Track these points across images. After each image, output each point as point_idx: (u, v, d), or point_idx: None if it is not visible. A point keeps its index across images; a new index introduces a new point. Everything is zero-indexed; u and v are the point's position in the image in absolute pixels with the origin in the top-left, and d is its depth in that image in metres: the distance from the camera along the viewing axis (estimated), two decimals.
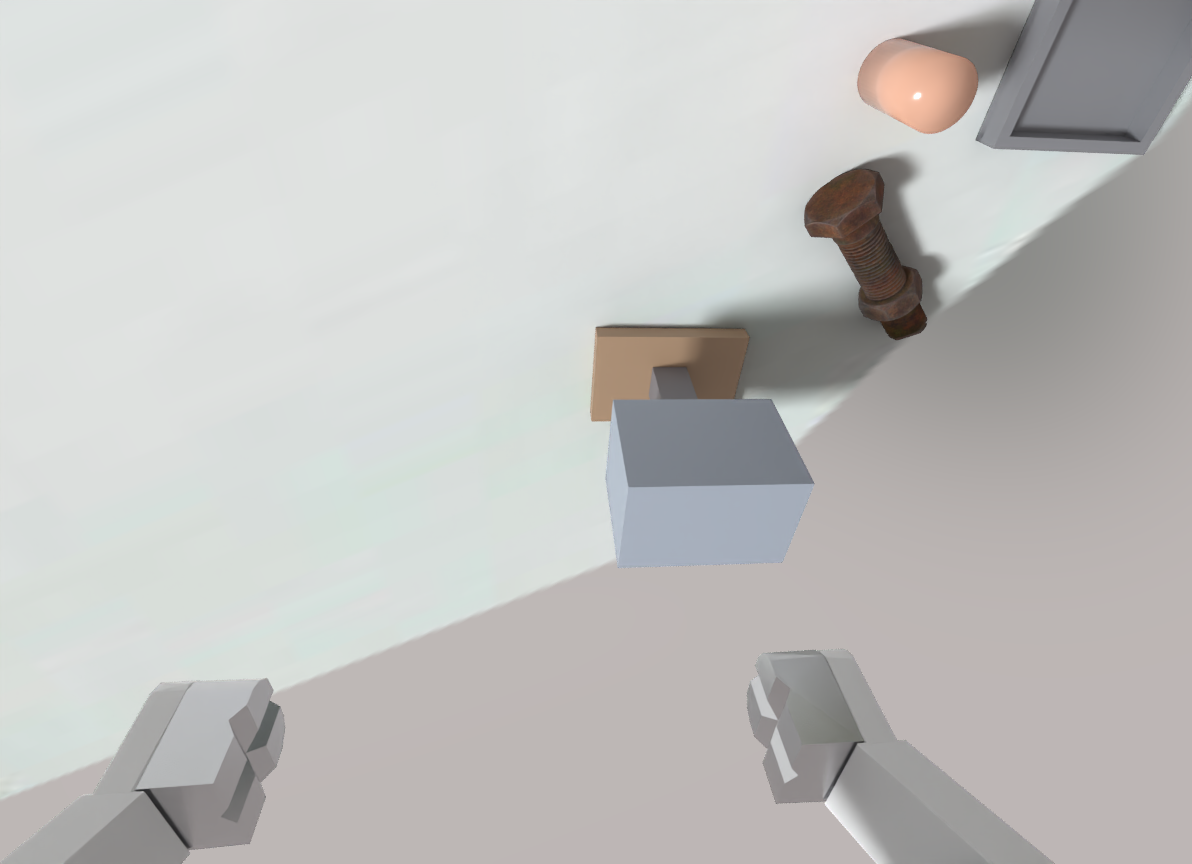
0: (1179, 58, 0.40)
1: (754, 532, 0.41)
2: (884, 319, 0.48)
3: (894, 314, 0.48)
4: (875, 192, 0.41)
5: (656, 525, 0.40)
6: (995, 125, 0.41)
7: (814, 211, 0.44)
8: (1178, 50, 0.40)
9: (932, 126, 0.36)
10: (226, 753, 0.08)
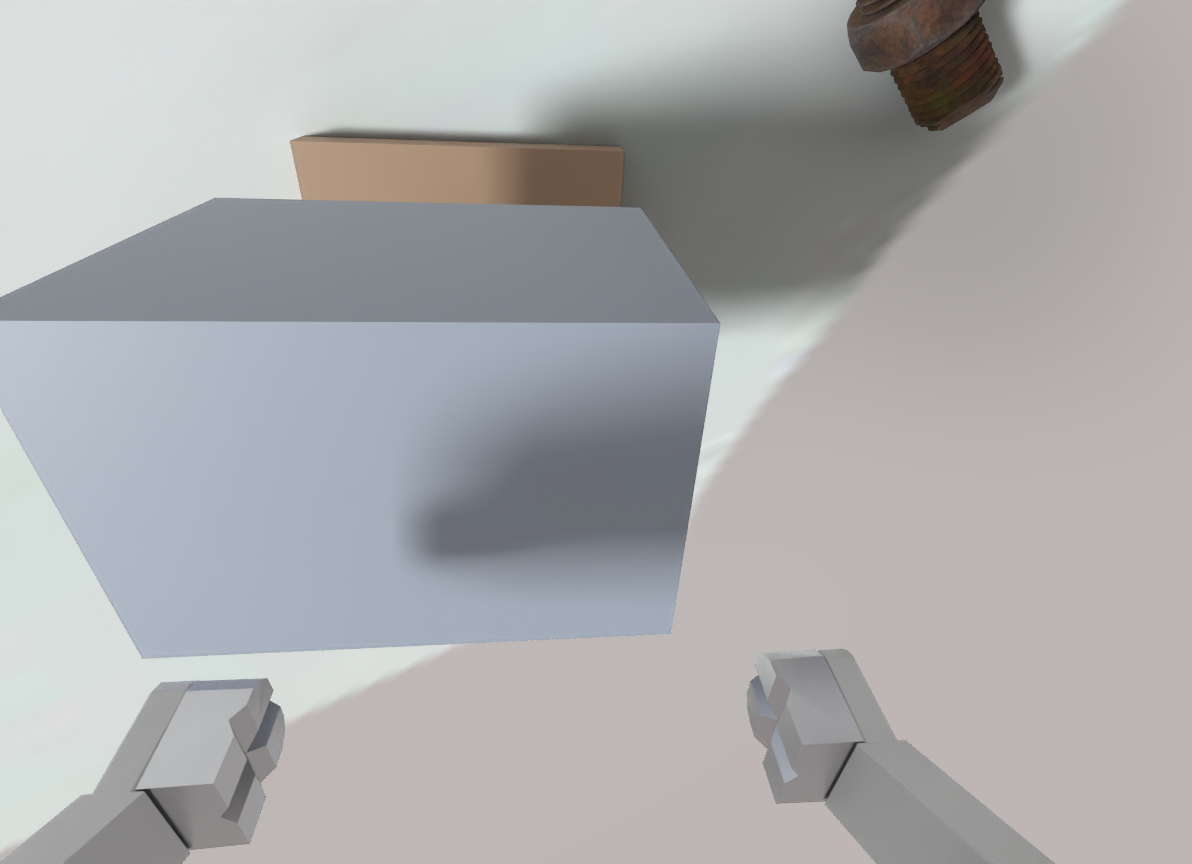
0: None
1: (551, 530, 0.12)
2: (910, 50, 0.21)
3: (932, 26, 0.21)
4: None
5: (182, 504, 0.11)
6: None
7: None
8: None
9: None
10: (226, 753, 0.08)
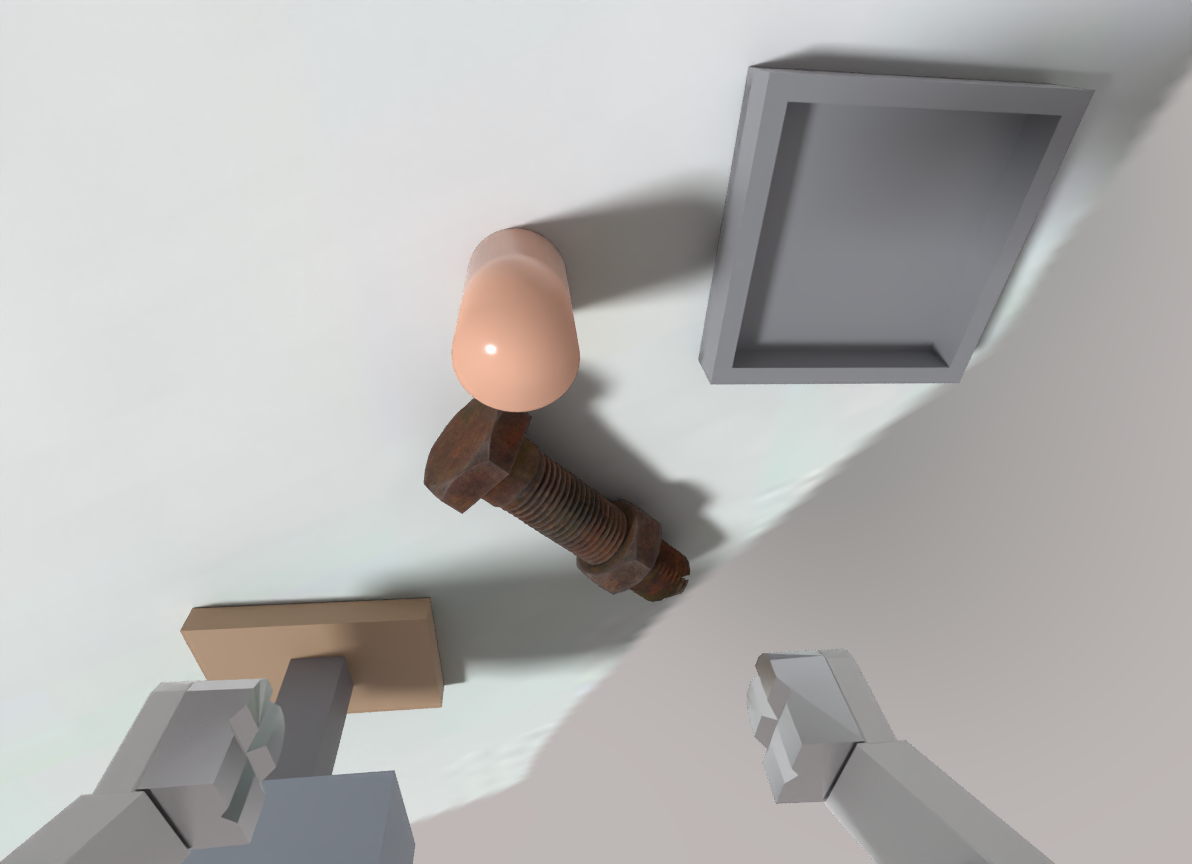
0: (985, 250, 0.24)
1: None
2: None
3: (616, 587, 0.30)
4: (491, 446, 0.24)
5: None
6: (710, 349, 0.26)
7: (433, 460, 0.27)
8: (983, 238, 0.25)
9: (520, 401, 0.20)
10: (226, 753, 0.08)
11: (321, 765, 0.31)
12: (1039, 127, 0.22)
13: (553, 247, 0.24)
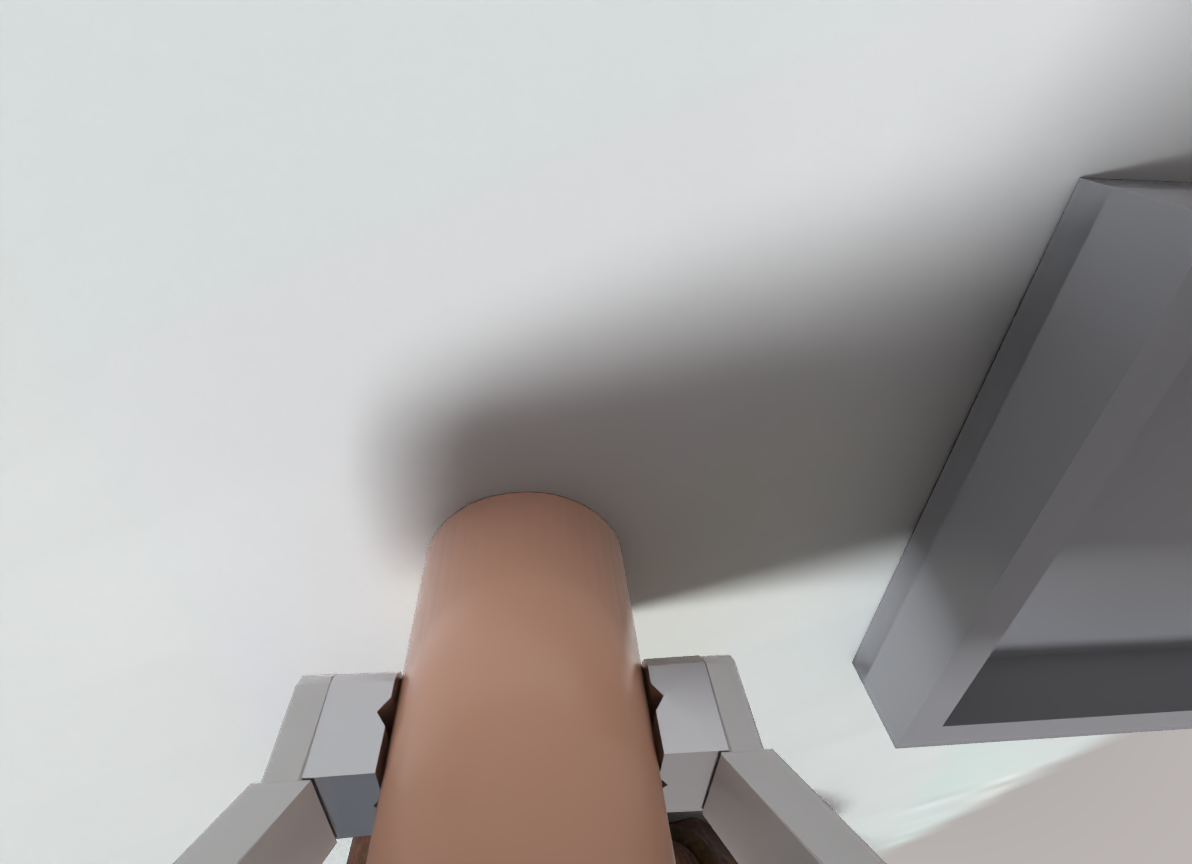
0: None
1: None
2: None
3: None
4: None
5: None
6: (896, 682, 0.13)
7: (359, 858, 0.14)
8: None
9: None
10: (380, 744, 0.08)
11: None
12: None
13: (600, 528, 0.11)
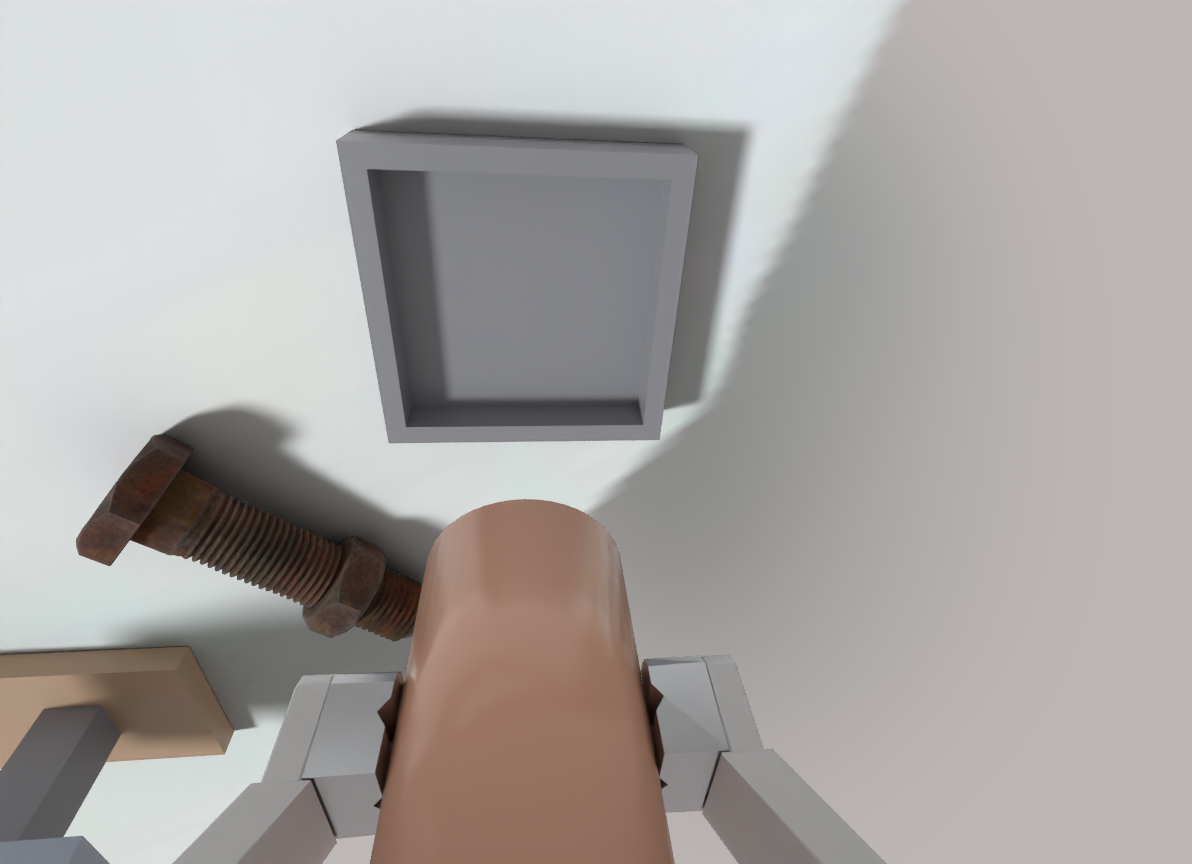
0: (652, 310, 0.24)
1: None
2: None
3: (330, 630, 0.29)
4: (114, 497, 0.23)
5: None
6: None
7: None
8: (651, 296, 0.24)
9: None
10: (380, 743, 0.08)
11: (41, 824, 0.30)
12: (665, 189, 0.21)
13: (599, 535, 0.11)
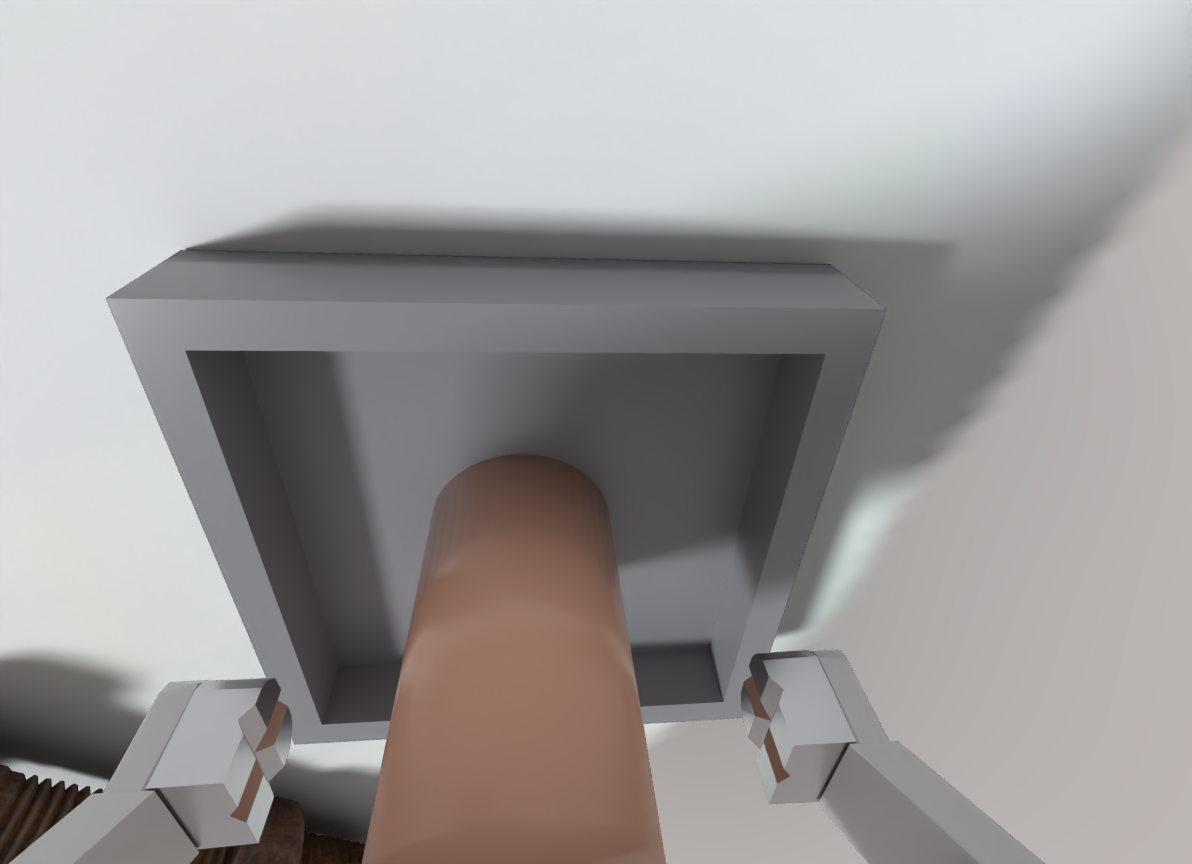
0: (752, 540, 0.13)
1: None
2: None
3: None
4: None
5: None
6: None
7: None
8: (749, 515, 0.14)
9: None
10: (235, 752, 0.08)
11: None
12: (801, 358, 0.11)
13: (589, 487, 0.13)
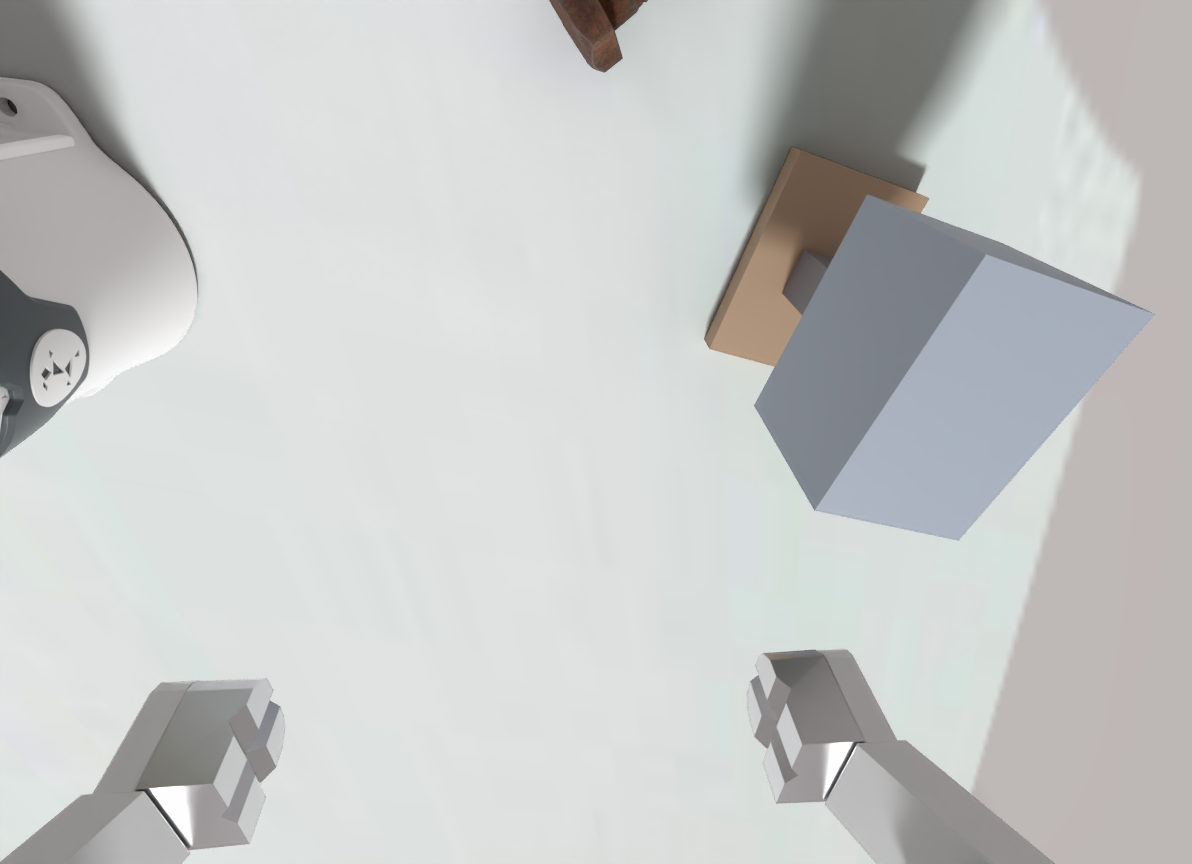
0: None
1: (1032, 358, 0.23)
2: None
3: None
4: None
5: (910, 488, 0.27)
6: None
7: (586, 57, 0.30)
8: None
9: None
10: (226, 753, 0.08)
11: None
12: None
13: None
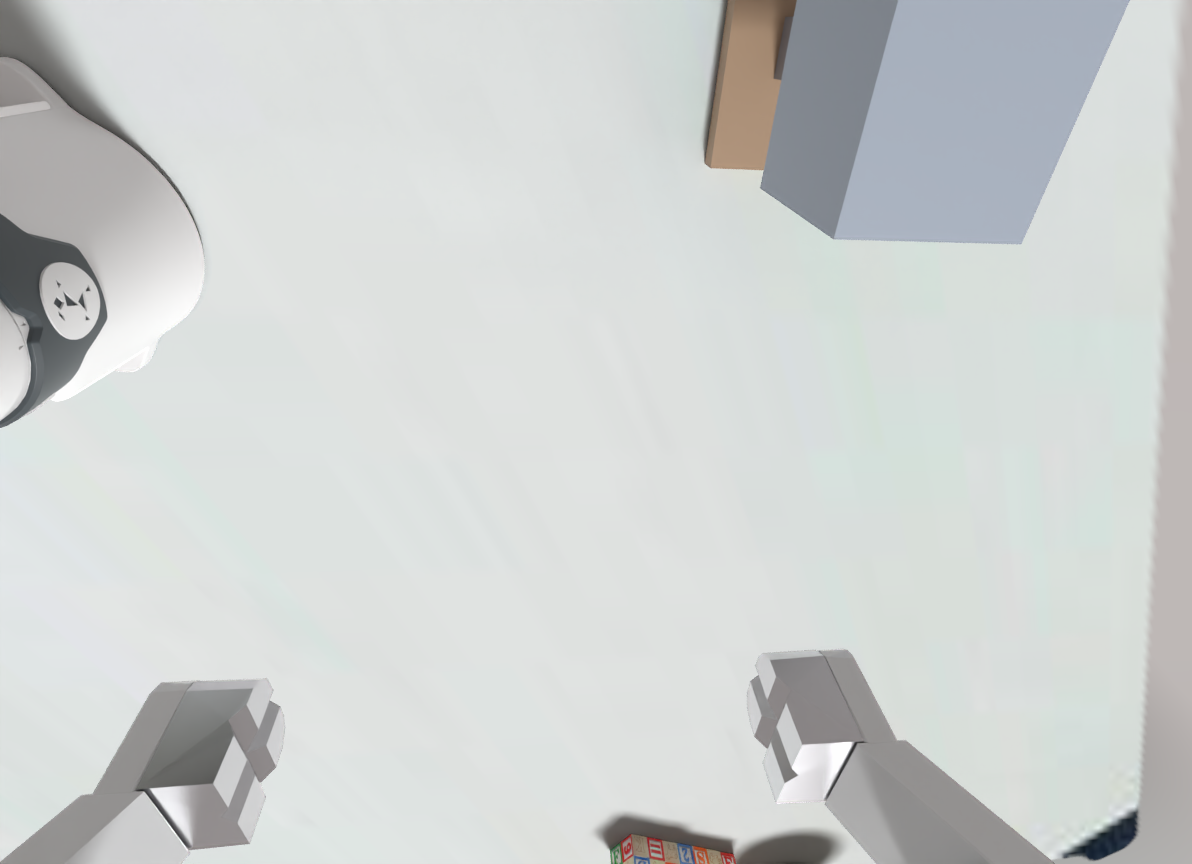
0: None
1: None
2: None
3: None
4: None
5: (941, 183, 0.23)
6: None
7: None
8: None
9: None
10: (226, 753, 0.08)
11: None
12: None
13: None
